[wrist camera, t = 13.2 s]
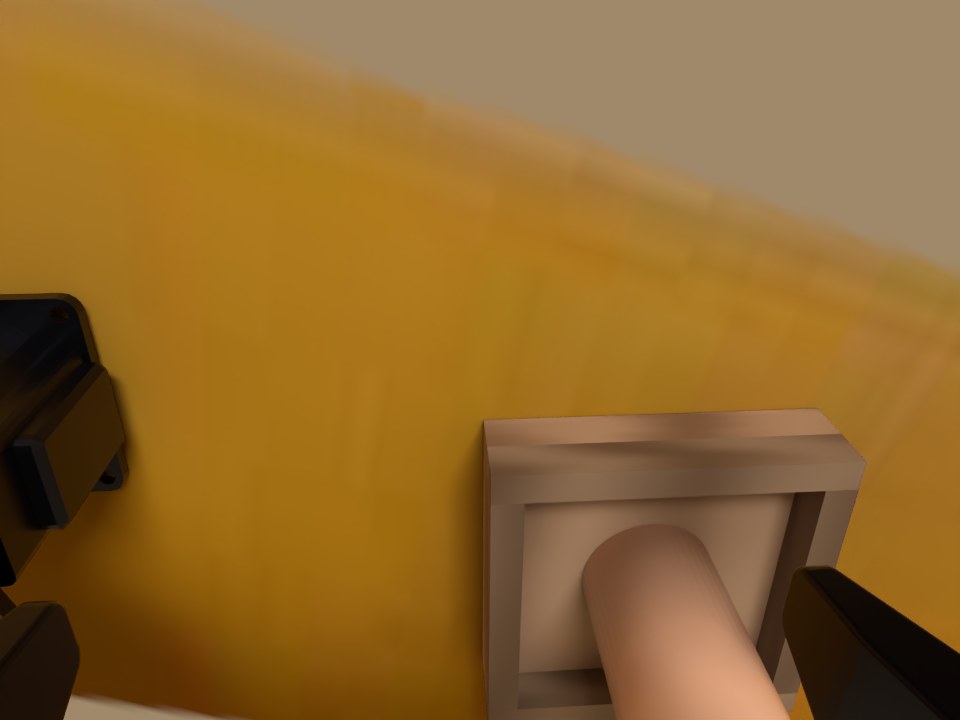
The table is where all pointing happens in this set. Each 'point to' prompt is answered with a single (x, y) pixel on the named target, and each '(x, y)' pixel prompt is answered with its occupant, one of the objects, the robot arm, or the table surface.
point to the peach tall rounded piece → (672, 632)
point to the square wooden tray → (641, 501)
